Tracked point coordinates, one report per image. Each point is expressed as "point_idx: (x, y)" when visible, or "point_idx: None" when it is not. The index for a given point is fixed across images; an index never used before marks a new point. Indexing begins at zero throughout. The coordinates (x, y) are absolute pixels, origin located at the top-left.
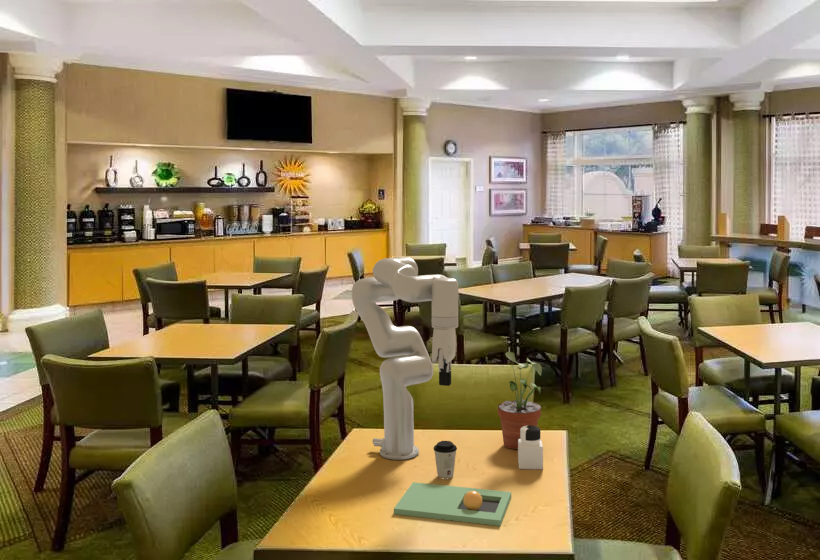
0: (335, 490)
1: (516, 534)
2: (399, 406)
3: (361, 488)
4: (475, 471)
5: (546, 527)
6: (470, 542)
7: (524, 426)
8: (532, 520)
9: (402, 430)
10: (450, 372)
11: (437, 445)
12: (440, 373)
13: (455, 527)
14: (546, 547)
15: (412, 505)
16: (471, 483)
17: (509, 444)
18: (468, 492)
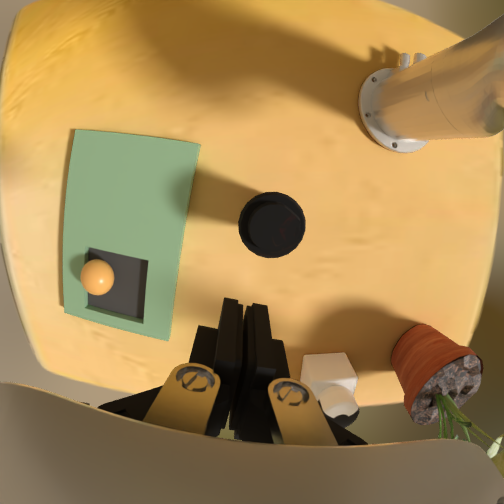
0: (184, 4)
1: (55, 325)
2: (440, 85)
3: (193, 43)
4: (295, 276)
5: (84, 364)
6: (22, 264)
7: (348, 410)
8: (97, 352)
9: (401, 105)
10: (234, 430)
11: (264, 205)
12: (214, 360)
13: (51, 242)
14: (41, 352)
15: (87, 161)
16: (228, 269)
17: (404, 340)
18: (89, 274)
